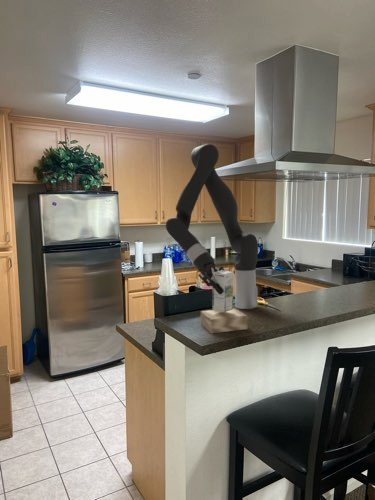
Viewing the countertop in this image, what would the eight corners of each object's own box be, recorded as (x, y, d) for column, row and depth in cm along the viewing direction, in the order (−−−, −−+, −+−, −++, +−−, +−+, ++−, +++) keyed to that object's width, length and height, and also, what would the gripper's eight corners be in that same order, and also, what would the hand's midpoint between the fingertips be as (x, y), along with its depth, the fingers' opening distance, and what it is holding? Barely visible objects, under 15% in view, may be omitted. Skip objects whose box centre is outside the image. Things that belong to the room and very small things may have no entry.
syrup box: (220, 307, 140) (220, 270, 139) (233, 309, 136) (233, 271, 135) (211, 310, 136) (211, 272, 134) (225, 312, 132) (224, 273, 130)
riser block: (234, 320, 144) (234, 307, 144) (247, 328, 133) (247, 315, 132) (200, 323, 140) (200, 311, 140) (211, 333, 129) (211, 319, 128)
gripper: (194, 253, 133) (222, 288, 127) (216, 249, 144) (242, 282, 138) (183, 266, 137) (209, 301, 130) (205, 261, 148) (231, 294, 142)
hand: (226, 291), depth 134 cm, fingers closed on syrup box, 5 cm apart
